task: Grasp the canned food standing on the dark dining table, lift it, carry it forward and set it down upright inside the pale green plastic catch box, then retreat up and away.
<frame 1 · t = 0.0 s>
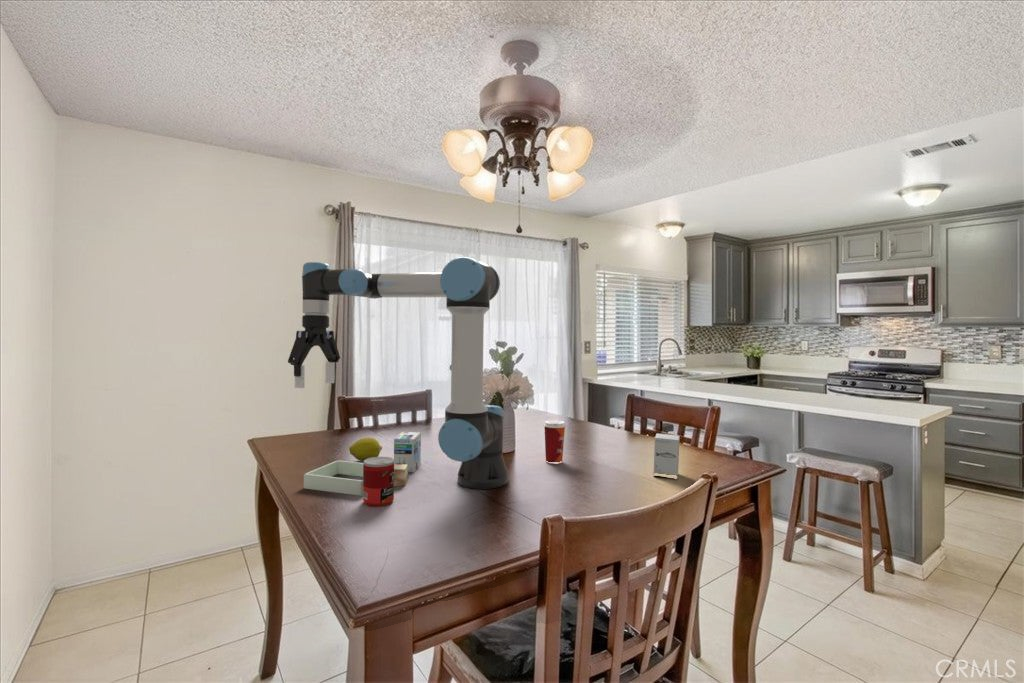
hand: (315, 385, 146), 28 cm above the table, fingers open, 13 cm apart
catch box: (349, 483, 141), on the table
paper cup: (553, 462, 167), on the table
light bulb box: (407, 468, 158), on the table
lemon: (365, 461, 165), on the table
maple block: (397, 483, 142), on the table
canned food: (378, 502, 127), on the table
supplement box: (666, 476, 154), on the table
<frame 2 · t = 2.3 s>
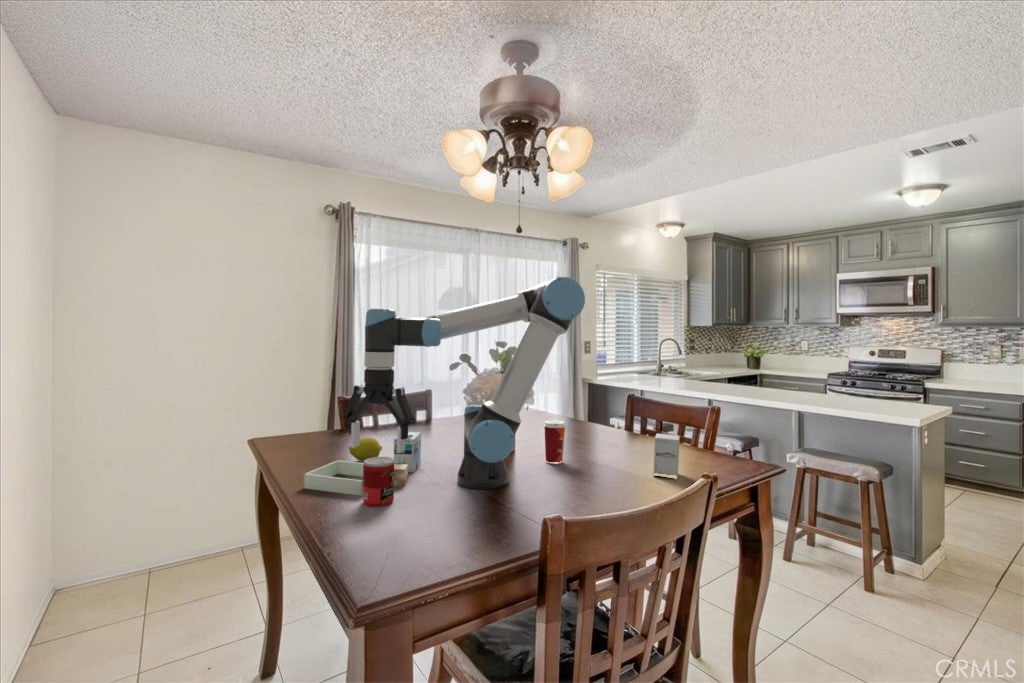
hand: (377, 449, 126), 14 cm above the table, fingers open, 13 cm apart
nothing on the table moved.
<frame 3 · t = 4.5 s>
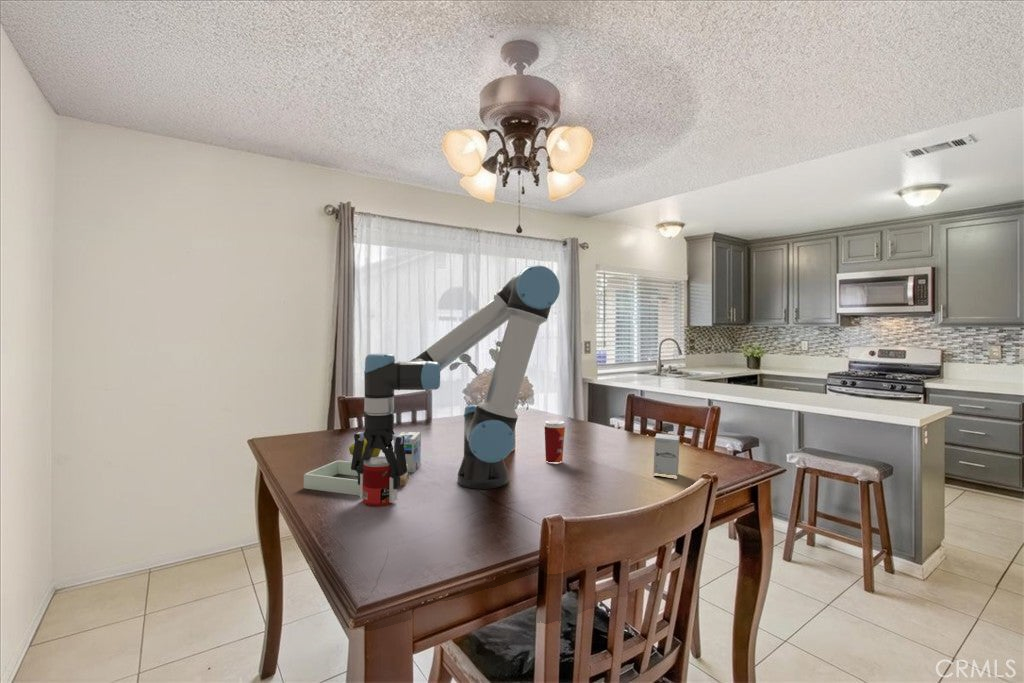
hand: (378, 498, 127), 1 cm above the table, fingers closed on canned food, 8 cm apart
canned food: (378, 502, 127), on the table, touching gripper
everything else where it was.
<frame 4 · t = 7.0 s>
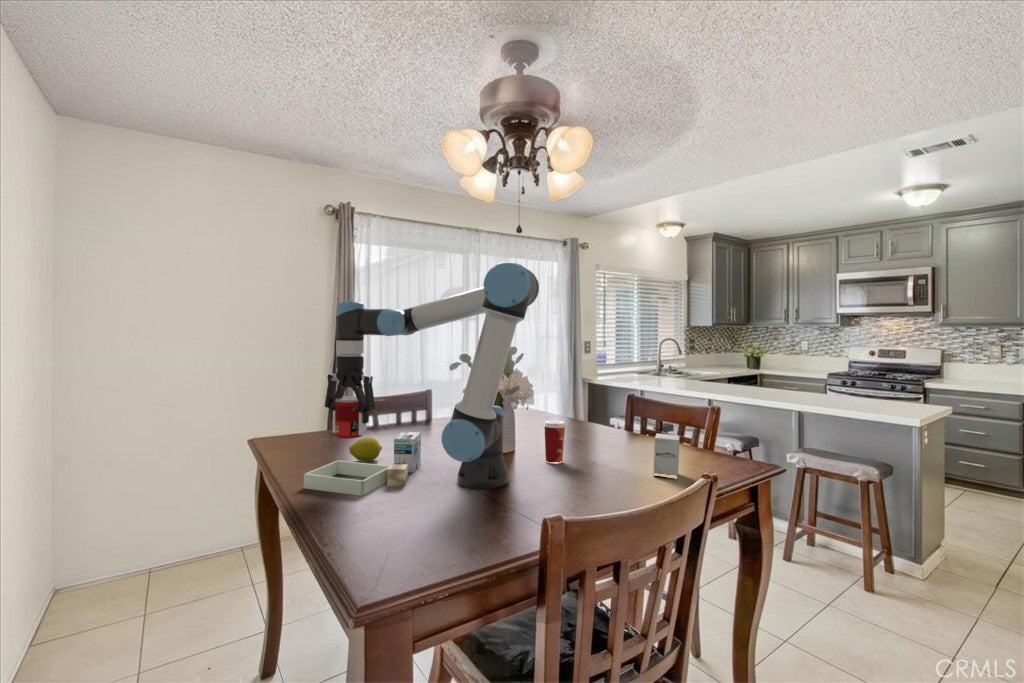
hand: (349, 433, 141), 15 cm above the table, fingers closed on canned food, 8 cm apart
canned food: (349, 436, 141), point 14 cm above the table, touching gripper
everything else where it was.
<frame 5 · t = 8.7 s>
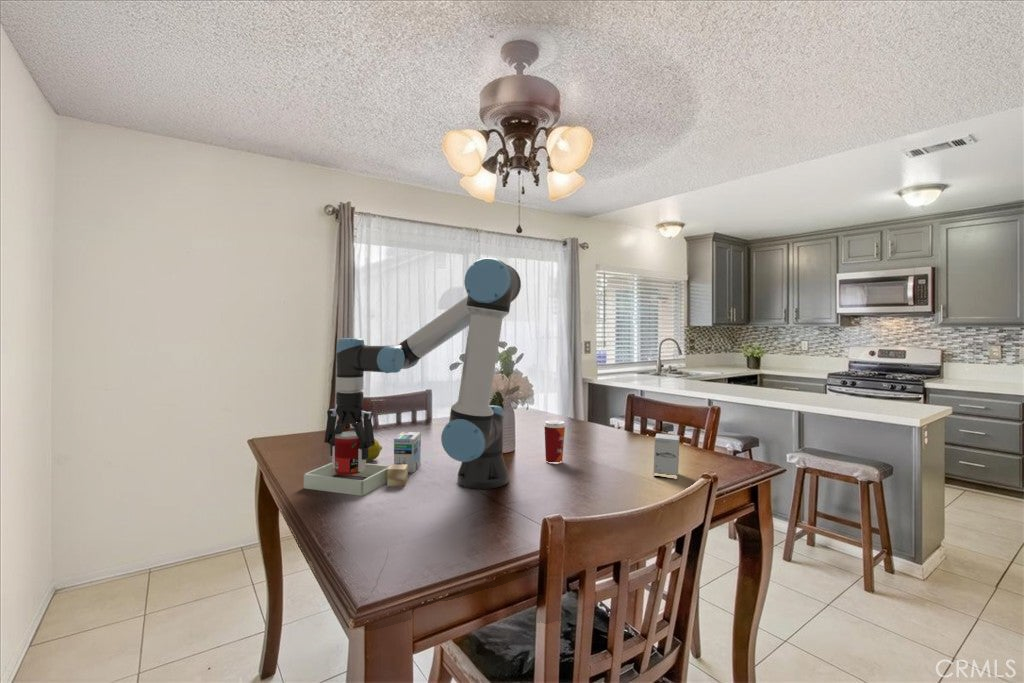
hand: (349, 468, 141), 4 cm above the table, fingers closed on canned food, 8 cm apart
canned food: (348, 472, 141), point 3 cm above the table, touching gripper
everything else where it was.
when the fingers open (3 cm above the table, at t = 10.0 s): canned food drops 2 cm, resting in catch box.
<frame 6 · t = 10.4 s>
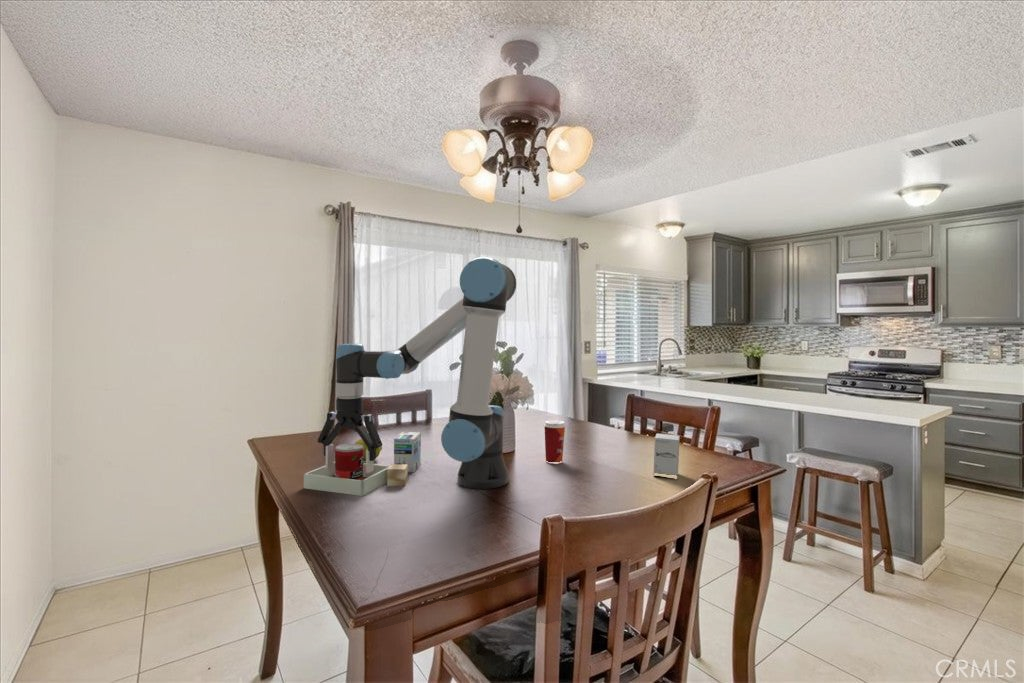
hand: (349, 469, 141), 4 cm above the table, fingers open, 13 cm apart
canned food: (349, 484, 141), resting in catch box
everything else where it was.
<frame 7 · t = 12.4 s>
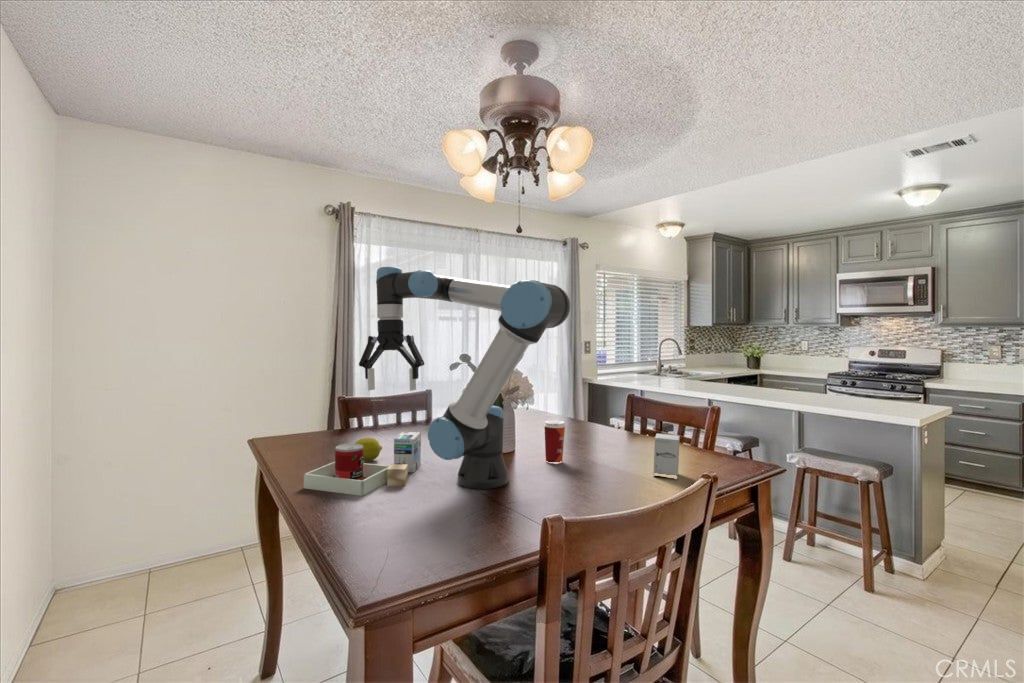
hand: (391, 390, 145), 27 cm above the table, fingers open, 13 cm apart
nothing on the table moved.
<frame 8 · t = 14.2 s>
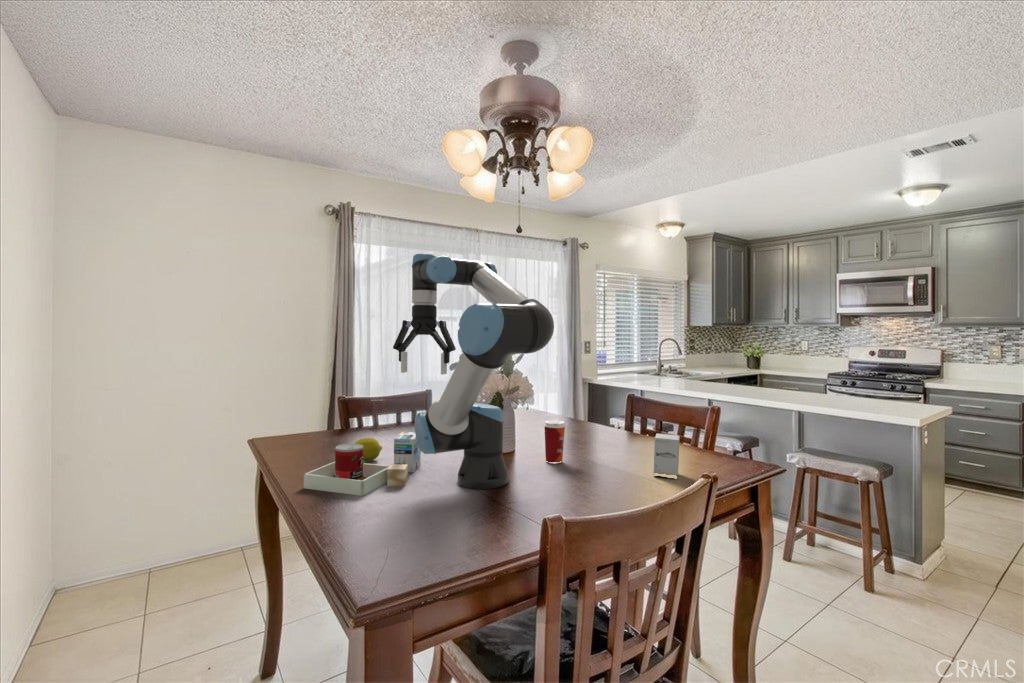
hand: (423, 373, 150), 32 cm above the table, fingers open, 13 cm apart
nothing on the table moved.
at the end: canned food inside the target area (0.1 cm from its centre), resting in catch box; canned food tilted 0°; the gripper is holding nothing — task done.
